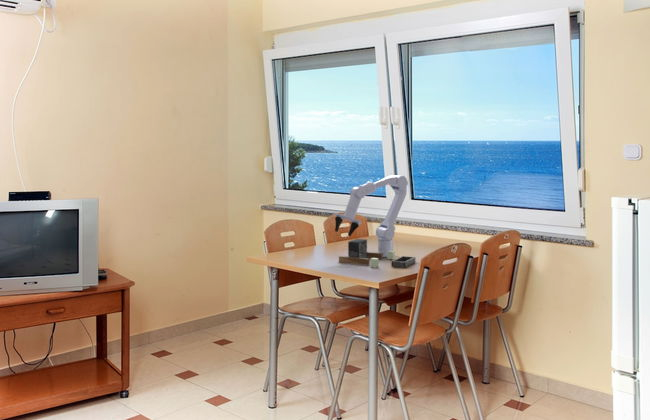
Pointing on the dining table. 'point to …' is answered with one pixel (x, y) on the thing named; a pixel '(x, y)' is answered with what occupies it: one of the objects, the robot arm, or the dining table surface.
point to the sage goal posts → (376, 260)
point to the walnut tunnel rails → (360, 260)
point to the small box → (357, 248)
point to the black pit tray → (403, 262)
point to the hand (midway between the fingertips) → (342, 233)
